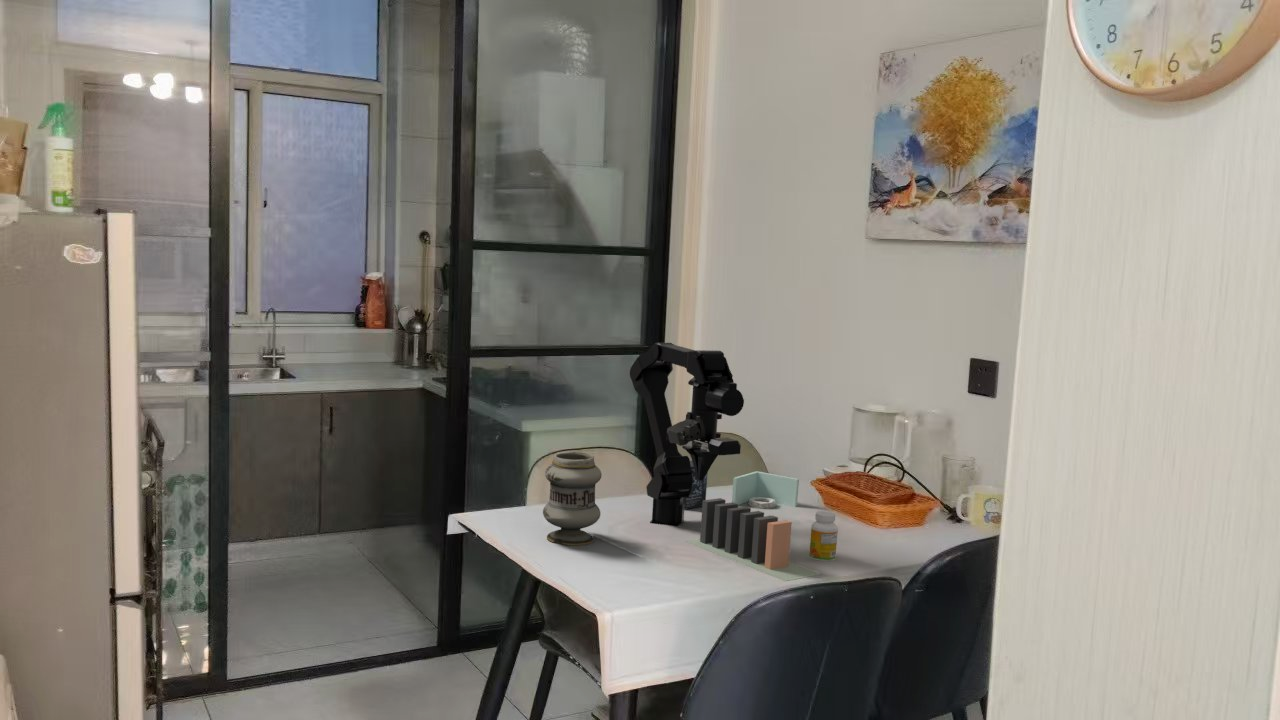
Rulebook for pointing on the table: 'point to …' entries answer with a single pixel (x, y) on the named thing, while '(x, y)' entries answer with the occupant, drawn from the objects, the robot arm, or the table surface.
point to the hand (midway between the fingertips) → (700, 480)
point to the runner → (781, 573)
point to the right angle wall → (765, 490)
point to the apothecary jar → (572, 497)
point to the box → (696, 491)
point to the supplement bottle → (823, 537)
